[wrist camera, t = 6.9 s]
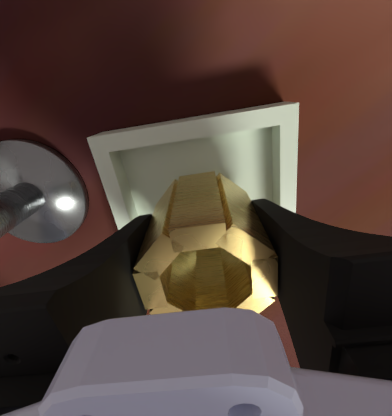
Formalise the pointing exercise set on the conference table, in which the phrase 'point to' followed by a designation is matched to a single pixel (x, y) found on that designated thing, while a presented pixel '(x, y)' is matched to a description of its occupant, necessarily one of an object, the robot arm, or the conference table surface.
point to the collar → (205, 250)
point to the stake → (39, 192)
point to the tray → (200, 156)
